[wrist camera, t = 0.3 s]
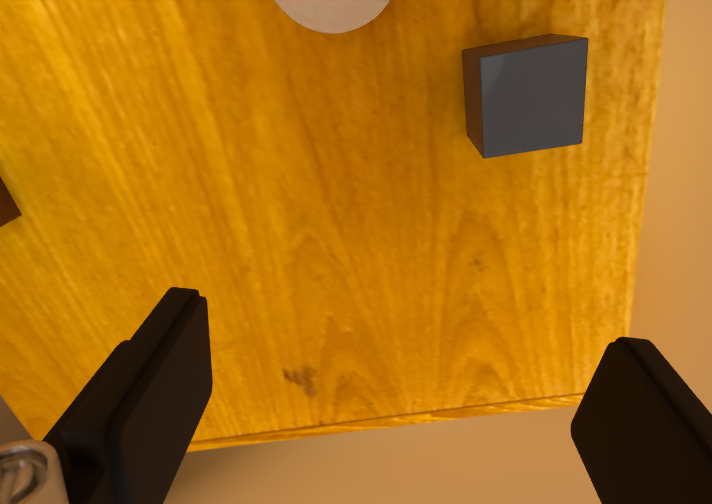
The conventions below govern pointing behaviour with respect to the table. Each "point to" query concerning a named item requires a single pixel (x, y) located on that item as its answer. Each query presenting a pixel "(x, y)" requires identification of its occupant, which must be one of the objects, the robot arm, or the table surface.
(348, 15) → the candle
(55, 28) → the table surface
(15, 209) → the far block
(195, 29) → the table surface
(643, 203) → the table surface
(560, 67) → the near block
